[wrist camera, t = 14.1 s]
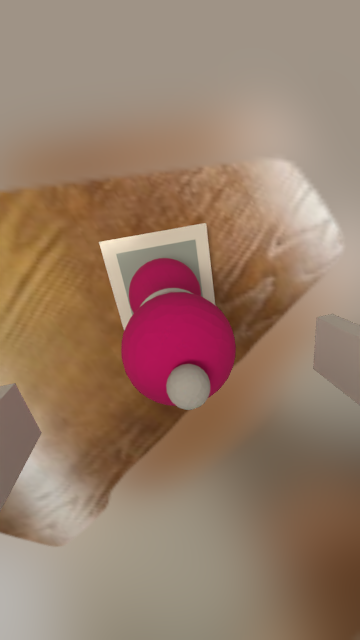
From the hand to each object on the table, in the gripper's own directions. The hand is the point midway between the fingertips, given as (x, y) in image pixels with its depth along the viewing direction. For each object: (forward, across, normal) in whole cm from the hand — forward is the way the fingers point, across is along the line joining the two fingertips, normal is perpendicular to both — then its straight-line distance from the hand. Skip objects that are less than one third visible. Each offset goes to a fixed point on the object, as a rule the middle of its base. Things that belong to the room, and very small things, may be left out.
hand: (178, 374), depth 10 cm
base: (+21, +1, 0) cm, 21 cm away
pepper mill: (+18, +1, 0) cm, 18 cm away
